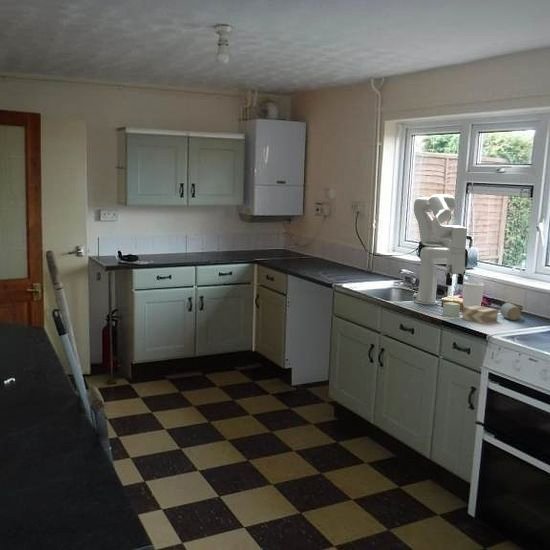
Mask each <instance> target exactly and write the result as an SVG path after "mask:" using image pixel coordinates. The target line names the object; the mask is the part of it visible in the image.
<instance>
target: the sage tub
mask: <svg viewBox="0 0 550 550" xmlns="http://www.w3.org/2000/svg"><path fill="white" fill-rule="evenodd" d="M442 305H443V306H442V313H441V314H442V315H443V316H448V317H458V316H459V317H460V313H461V303H456V302H453V301H449V302H443V303H442Z"/></svg>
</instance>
